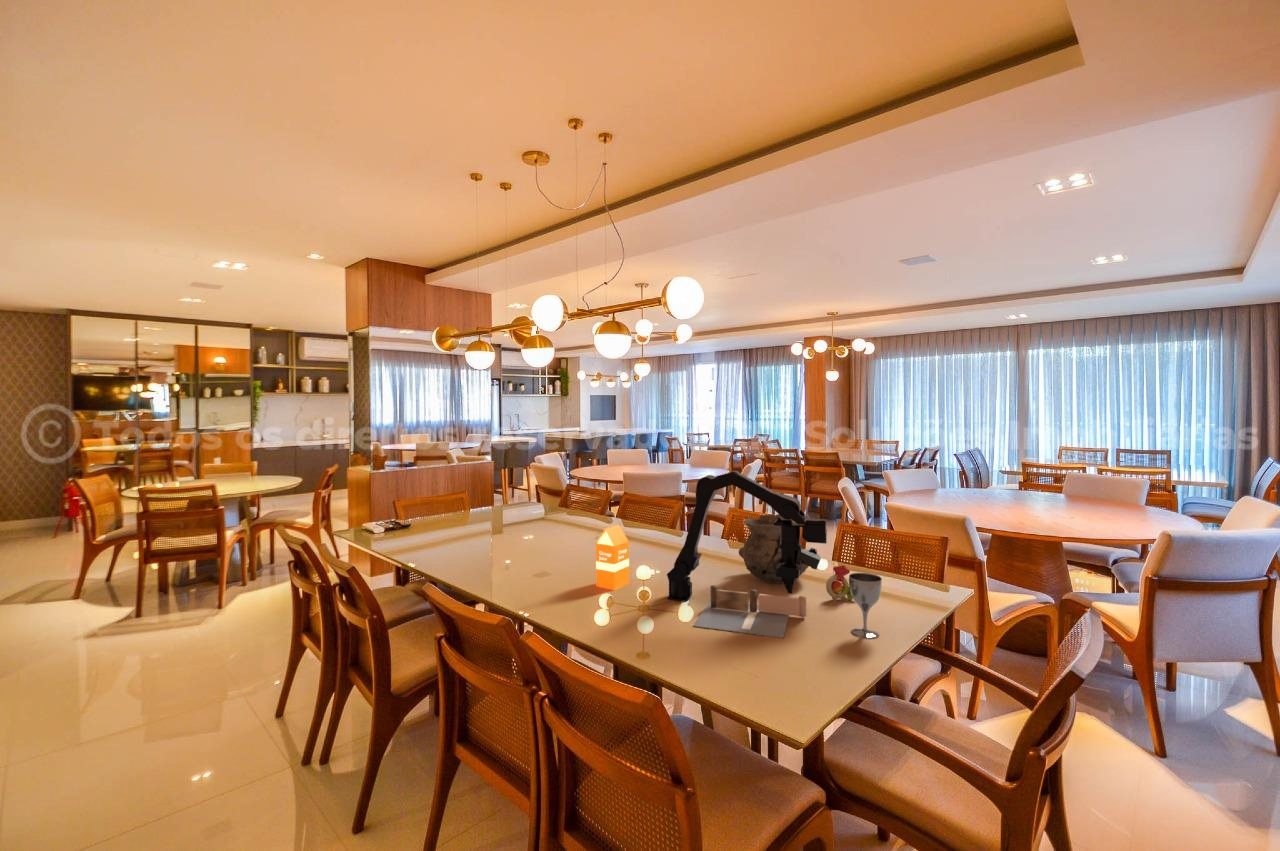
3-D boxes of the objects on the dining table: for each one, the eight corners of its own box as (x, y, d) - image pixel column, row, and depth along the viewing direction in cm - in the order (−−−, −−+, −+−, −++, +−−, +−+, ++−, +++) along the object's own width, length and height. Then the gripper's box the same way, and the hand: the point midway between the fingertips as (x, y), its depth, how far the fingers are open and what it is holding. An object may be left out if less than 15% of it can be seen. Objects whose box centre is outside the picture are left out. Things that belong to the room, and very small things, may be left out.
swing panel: (758, 611, 161) (758, 593, 161) (759, 609, 163) (759, 591, 163) (806, 617, 157) (806, 598, 157) (806, 614, 159) (806, 596, 159)
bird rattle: (841, 610, 170) (864, 595, 172) (828, 578, 168) (851, 564, 171) (828, 603, 176) (851, 589, 178) (816, 572, 174) (839, 559, 177)
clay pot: (738, 568, 208) (737, 511, 207) (803, 570, 205) (803, 512, 204) (740, 589, 183) (740, 524, 183) (815, 592, 180) (815, 526, 179)
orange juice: (629, 583, 191) (629, 525, 191) (614, 590, 184) (614, 529, 183) (610, 579, 196) (610, 522, 195) (595, 586, 188) (595, 527, 188)
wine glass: (880, 629, 149) (880, 574, 149) (882, 641, 142) (882, 582, 141) (848, 626, 152) (848, 571, 152) (849, 637, 145) (849, 580, 144)
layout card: (692, 626, 153) (692, 625, 153) (710, 600, 173) (710, 599, 173) (783, 638, 144) (783, 636, 144) (790, 609, 165) (790, 608, 165)
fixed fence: (710, 608, 166) (710, 587, 166) (711, 606, 168) (711, 585, 168) (756, 614, 162) (756, 591, 161) (757, 611, 163) (757, 589, 163)
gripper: (817, 550, 153) (817, 607, 153) (820, 535, 170) (820, 586, 171) (775, 547, 156) (775, 602, 157) (782, 533, 174) (782, 583, 174)
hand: (790, 593), depth 165 cm, fingers closed
